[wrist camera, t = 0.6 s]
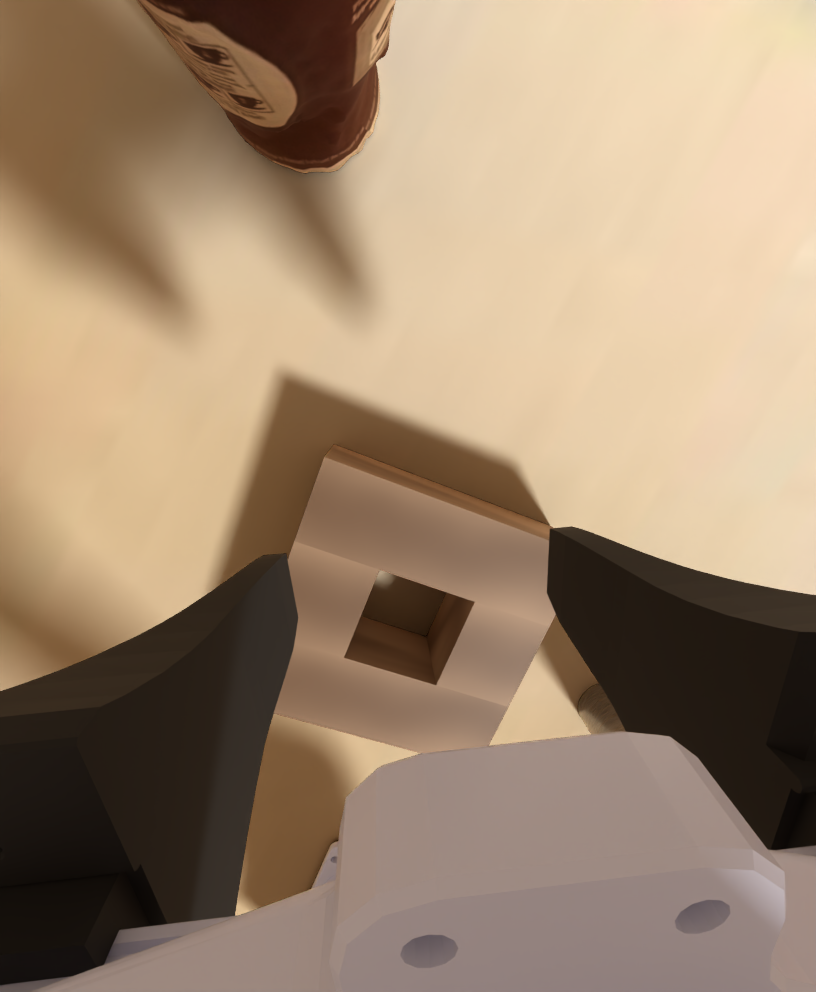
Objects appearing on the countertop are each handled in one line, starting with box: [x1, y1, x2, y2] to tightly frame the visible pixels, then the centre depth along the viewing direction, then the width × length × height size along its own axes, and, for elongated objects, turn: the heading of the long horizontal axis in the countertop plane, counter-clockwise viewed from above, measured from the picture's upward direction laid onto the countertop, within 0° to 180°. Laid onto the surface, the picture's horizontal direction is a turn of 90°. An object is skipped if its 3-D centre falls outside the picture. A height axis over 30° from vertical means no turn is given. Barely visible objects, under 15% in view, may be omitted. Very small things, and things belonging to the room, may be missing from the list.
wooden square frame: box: [274, 444, 556, 753], centre depth 21 cm, size 12×12×4 cm
